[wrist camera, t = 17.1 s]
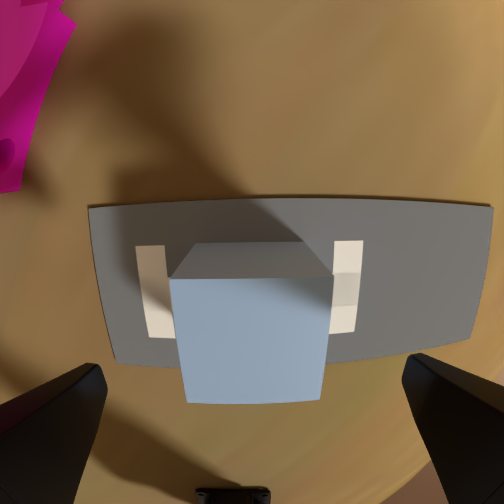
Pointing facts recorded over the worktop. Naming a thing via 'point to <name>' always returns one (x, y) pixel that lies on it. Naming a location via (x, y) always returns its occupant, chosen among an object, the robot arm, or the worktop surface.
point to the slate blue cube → (252, 322)
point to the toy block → (26, 75)
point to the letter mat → (326, 249)
